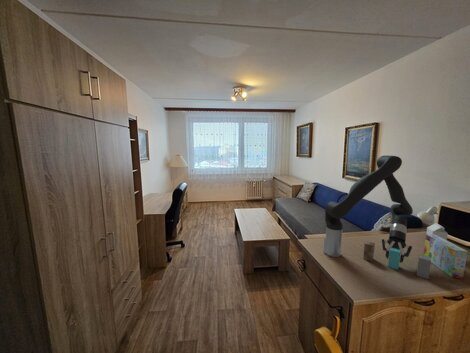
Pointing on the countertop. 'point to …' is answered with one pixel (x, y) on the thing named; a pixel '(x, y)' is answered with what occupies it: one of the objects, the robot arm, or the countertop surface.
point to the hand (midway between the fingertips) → (394, 260)
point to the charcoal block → (423, 266)
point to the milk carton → (437, 231)
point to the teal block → (394, 258)
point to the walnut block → (369, 251)
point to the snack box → (445, 255)
